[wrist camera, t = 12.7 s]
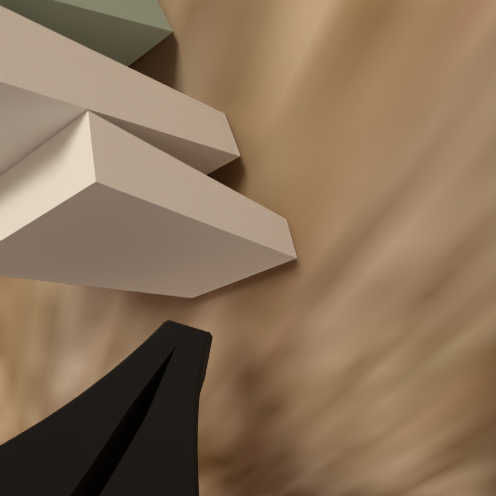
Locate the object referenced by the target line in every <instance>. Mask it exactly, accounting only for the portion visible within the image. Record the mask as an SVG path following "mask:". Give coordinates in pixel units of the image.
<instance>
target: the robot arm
mask: <svg viewBox="0 0 496 496" xmlns="http://www.w3.org/2000/svg"><path fill="white" fill-rule="evenodd" d="M212 337H213V336H212V335H211V334H210V332H206V331H203V330H200V329H196V328H193V327H190V326H186V325H183V324H180V323H176V322H173V321H170V320H168V321H166V322H164V323H163V324H162V325H161V326H160V327H159V328H158V329H157V330H156V331H155V332H154V333H153V334H152V335H151V336H150V337H149V338H148V339H147V340H146V341H145V342H144V343H143V344H142V345H141V346H139V347H138V348H137V349H136V350H135V351H134V352H133V353H132V354H131V355H129V356H128V357H127V358H126V359H125V360H123V361H122V362H121V363H120V364H119V365H118V366H116V367H115V368H114V369H113V370H112V371H110V372H109V373H108V374H107V375H105V376H104V377H103V378H101V379H100V380H99V381H98V382H96V383H95V384H94V385H92V386H91V387H90V388H88V389H87V390H86V391H84V392H83V393H82V394H80V395H79V396H78V397H76V398H75V399H73V400H72V401H71V402H69V403H68V404H66V405H65V406H63V407H62V408H60V409H59V410H57V411H56V412H54V413H53V414H51V415H50V416H48V417H47V418H45V419H44V420H42V421H40V422H39V423H37V424H36V425H34V426H32V427H31V428H29V429H27V430H26V431H24V432H22V433H21V434H19V435H18V436H16V437H14V438H12V439H11V440H9V441H7V442H5V443H4V444H2V445H0V496H199V483H198V410H199V397H200V392H201V389H202V386H203V382H204V379H205V375H206V369H207V364H208V359H209V353H210V348H211V343H212Z"/></svg>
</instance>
